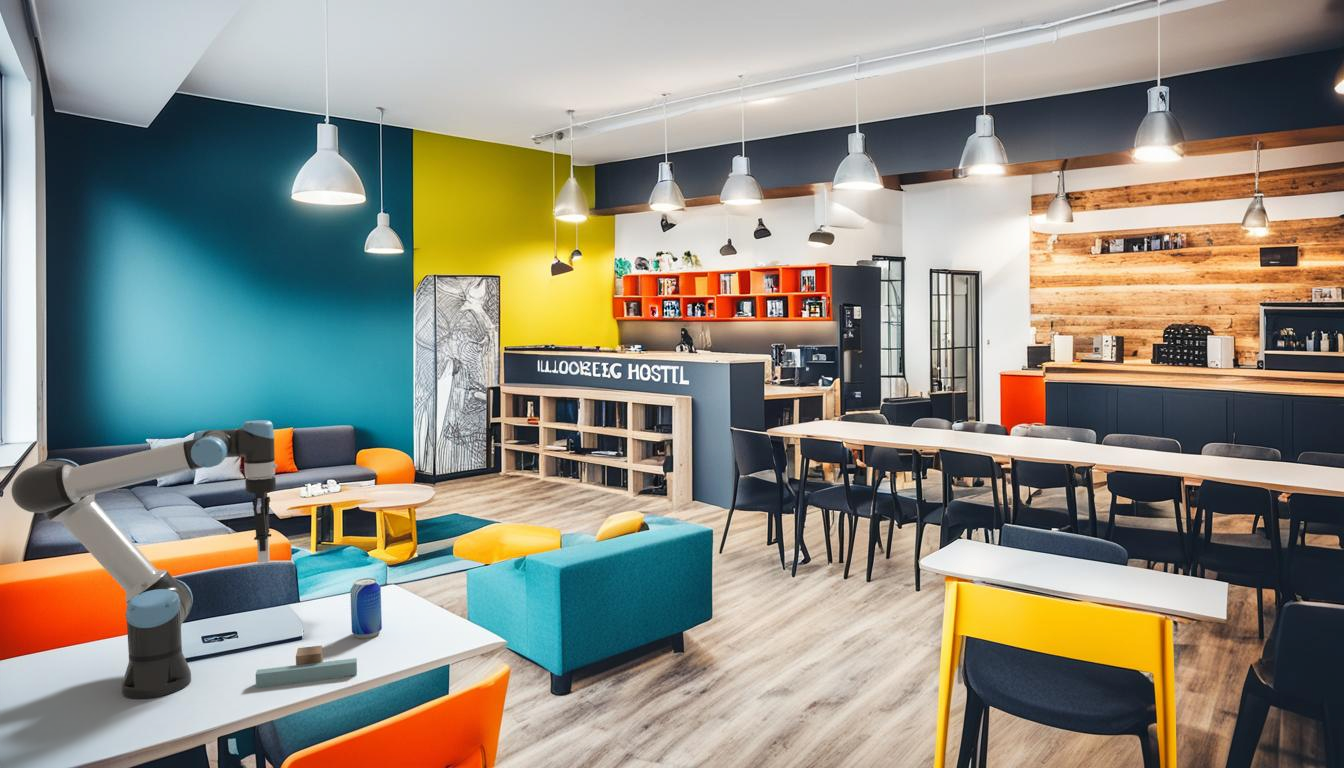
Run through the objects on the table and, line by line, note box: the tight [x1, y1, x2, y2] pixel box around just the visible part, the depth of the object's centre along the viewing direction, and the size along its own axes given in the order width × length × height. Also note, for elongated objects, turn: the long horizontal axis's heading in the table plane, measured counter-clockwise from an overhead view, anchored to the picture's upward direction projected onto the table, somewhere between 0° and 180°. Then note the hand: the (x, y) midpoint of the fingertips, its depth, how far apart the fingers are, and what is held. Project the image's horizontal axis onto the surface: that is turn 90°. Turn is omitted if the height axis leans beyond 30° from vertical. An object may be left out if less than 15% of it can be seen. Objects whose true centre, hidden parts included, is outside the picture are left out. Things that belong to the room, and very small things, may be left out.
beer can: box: [350, 577, 383, 639], centre depth 258 cm, size 8×8×16 cm
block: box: [295, 645, 324, 665], centre depth 230 cm, size 6×6×6 cm
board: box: [255, 657, 358, 688], centre depth 226 cm, size 24×3×4 cm, turn 108°
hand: (263, 561), depth 241 cm, fingers closed
